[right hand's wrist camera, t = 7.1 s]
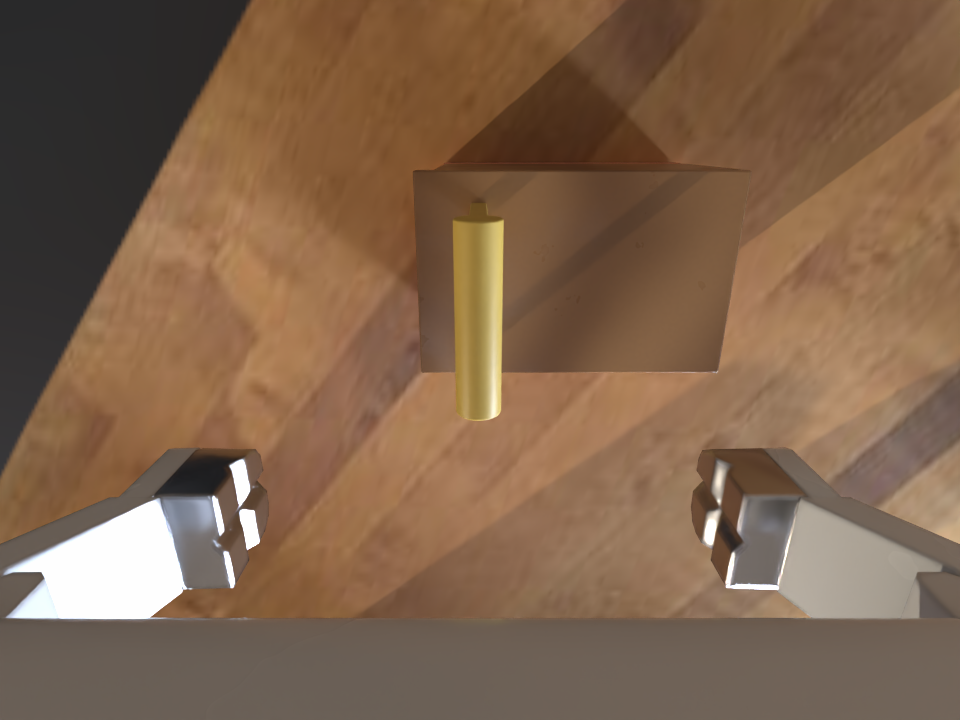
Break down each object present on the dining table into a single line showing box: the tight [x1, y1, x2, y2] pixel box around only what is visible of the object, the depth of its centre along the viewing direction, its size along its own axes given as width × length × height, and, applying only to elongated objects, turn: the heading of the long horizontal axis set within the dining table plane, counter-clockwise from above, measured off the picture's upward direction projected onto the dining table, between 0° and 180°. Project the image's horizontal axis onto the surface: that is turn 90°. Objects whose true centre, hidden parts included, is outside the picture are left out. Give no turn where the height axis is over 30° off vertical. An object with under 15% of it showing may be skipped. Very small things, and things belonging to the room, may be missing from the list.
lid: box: [413, 170, 752, 421], centre depth 23 cm, size 15×10×8 cm, turn 90°
